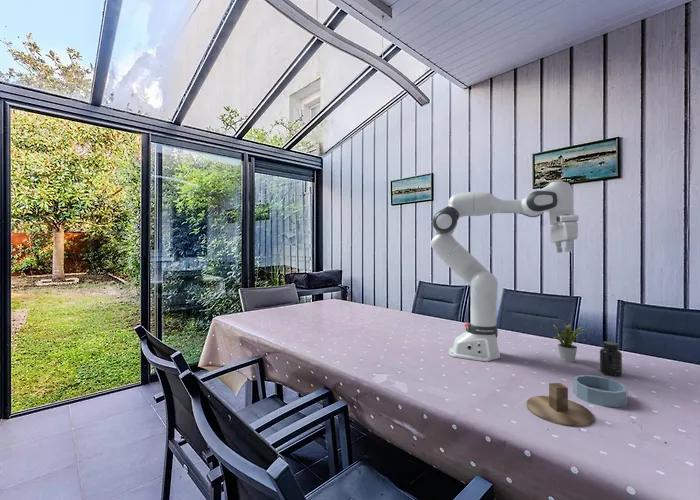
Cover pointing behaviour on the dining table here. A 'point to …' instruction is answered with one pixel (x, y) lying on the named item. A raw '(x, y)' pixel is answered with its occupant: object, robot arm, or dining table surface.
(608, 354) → the supplement bottle
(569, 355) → the house plant
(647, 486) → the dining table surface
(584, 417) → the walnut lid
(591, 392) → the slate bowl
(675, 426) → the dining table surface
